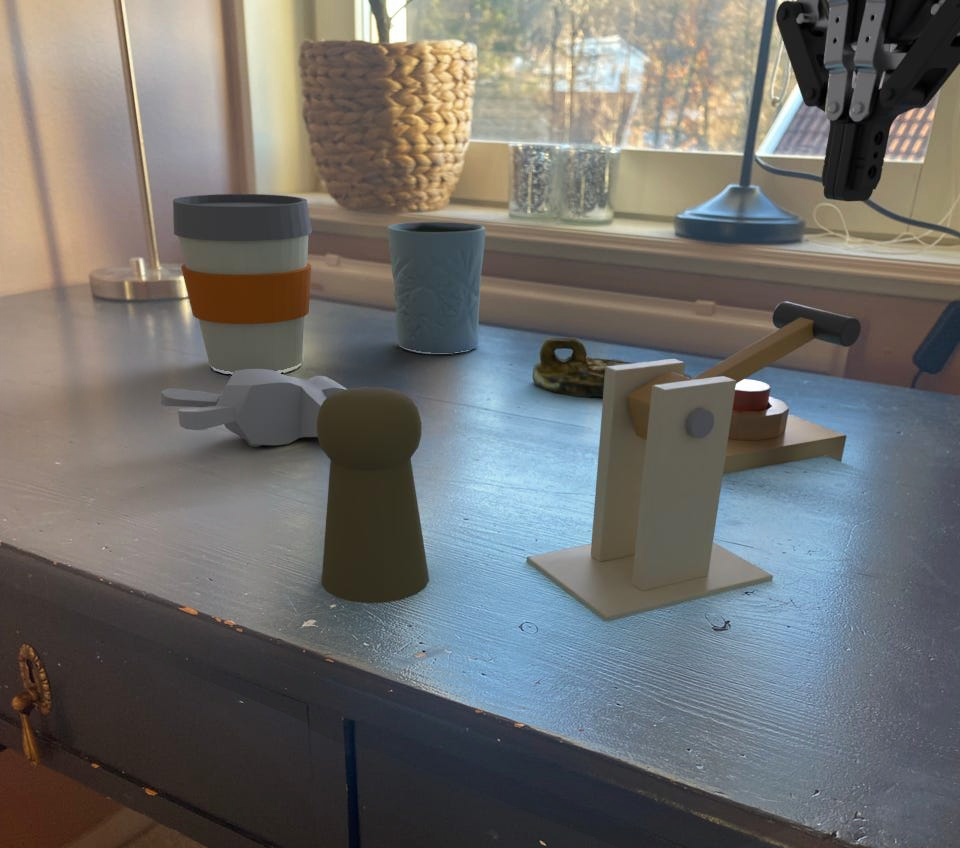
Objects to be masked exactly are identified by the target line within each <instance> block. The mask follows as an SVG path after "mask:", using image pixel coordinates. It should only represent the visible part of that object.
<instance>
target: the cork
mask: <svg viewBox="0 0 960 848" xmlns="http://www.w3.org/2000/svg"><path fill="white" fill-rule="evenodd" d="M346 389H347V390H342V391H339V392H336V393H334V394H332V395H331V396H329V397H328V398H327V399H325V400H324V402H323V403H322V405H321V407H320V409H319V412H318V418H317V435H318V437H317V439H318V442H319V445H320V448H321V450H322V451H323V453H324V455H326V456H327V458H328V459H329V472H328V473H329V474H328V485H327V486H328V489H327V502H326V503H327V504H326V515H325V528H324V529H325V531H324V532H325V533H324V541H323V543H324V544H323V555H322V572H321V585H322V587H323V588H324V590H325V591H326V592H327V593H328V594H330V595H332V596H334V597H335V598H338V599H341V600H345V601H348V602H351V603H363V604H382V603H383V604H384V603H390V602H394V601H395V602H396V601H401V600H405V599H407V598H410V597H412V596H416V595H417V594H419V593H420V592H422V591H423V590H424V589H425V588H427V585H428V583H429V581H430V578H429V577H430V575H429V568H428V563H427V557H426V550H425V543H424V537H423V531H422V530H423V529H422V523H421V518H420V517H421V516H420V509H419V505H418V498H417V497H418V496H417V490H416V484H415V478H414V471H413V465H412V457H413V456H414V454H415V453H416V451H417V450H418V448H419V447H420V442H421V439H422V420H421V416H420V412H419V408H418V406H417V405H416V403H415V402H414V400H413V398H411V397H409V395H407V394H405V393H404V392H401V391H399V390H396V389H391V388H387V387H386V388H385V387H376V386H363V387H353V388H346Z"/></svg>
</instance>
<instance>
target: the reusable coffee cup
mask: <svg viewBox="0 0 960 848" xmlns="http://www.w3.org/2000/svg"><path fill="white" fill-rule="evenodd" d="M172 213H173V217H172V218H173V234H174V235H175V236H177V237H178V241H179V245H180V249H181V254H182V257H183V261H184V264H182V265H181V266H180V268H181V272H182V276H183V280H184V284H185V288H186V289H185V290H186V292H187V297H188V301H189V304H190V309H191V312H192V316H193V317H194V318H196V319H198V323H199V328H200V332H201V336H202V339H203V344H204V347H205V352H206V357H207V359H208V360H207V361H208V364H210V365H211V366H212V367H214V368H216V369H219V370H224V371H230V372H234V371H238V370H244V369H266V370H273V371H278V370H284V369H287V368H291V367H294V366H297V365H298V364H300V363H301V362H302V363H303V349H304V330H305V329H304V328H305V316H307V315H308V314H309V312H310V299H311V298H310V297H311V280H312V279H311V278H312V264H311V263H310V262H308V256H309V255H308V254H309V253H308V252H309V236H310V235H312V232H313V229H312V223H311V216H310V211H309V205H308V200H307V199H306V198H304V197H301V196H300V197H299V196H293V195H282V194H265V193H220V194H219V193H218V194H199V195H197V194H196V195H188V196H180V197H177V198H174V199H173V200H172ZM210 365H209V366H210Z"/></svg>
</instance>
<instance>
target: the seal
mask: <svg viewBox="0 0 960 848" xmlns="http://www.w3.org/2000/svg"><path fill="white" fill-rule="evenodd" d="M561 349H567V350H572V352H571V355H570V356H567V358H562V357H559V356H558V355H557V354H556V350H561ZM587 355H588V354H587V350H586V347H585V345H584V343H583V342H582V340H581V339H579V338H578V337H575V336H574V337H573V336H568V337H561V336H560V337H559V336H554V337H546V338H545V339H544V341H543V343H542V344H541V347H540V350H539V360H540V362H538V363H535V364H534V366H533V370H532V380H533V382H534V383H535V384H536V385H537V386H538V387H541V388H542V389H545V390H547V391H551V392H554V393H557V394H562V395H565V396H571V397H579V398H580V397H583V398H597V397H599V398H603V392H604V379H605V368H606V367H607V366H616V365H624V364H633V363H638V362H637V361H635V362H633V361H632V362H629V361H623V360H619V359H607V358H598V357H589V356H587ZM639 363H641V361H640V362H639ZM684 376H685V377H688V378H690V379H692V378H693V377H691V375H689V374H687V373H684Z"/></svg>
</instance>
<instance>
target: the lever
mask: <svg viewBox="0 0 960 848" xmlns="http://www.w3.org/2000/svg"><path fill="white" fill-rule="evenodd" d="M772 324H773V325H774V327H775V328H776V329H777V330H775V331H774V332H772V333H770V334H768V335H766V336H765V337H763V338H761V339H759V340H758V341H756V342H754V343H752V344H751V345H749V346H747V347H745V348H743V349H742V350H739V351H738V352H737V353H735V354H733V355H731V356H729V357H727V358H726V359H724V360H722V361H720V362H719V363H717V364H715V365H713V366H711V367H709V368H708V369H706V370H704V371H703V372H701V373H699V374H697V375H695V376H694V377H691V378H692V379H690V378H688V377H685V376H682V375H680V374H677V373H674V372H672V371H669V372H667V373H665V374H664V375H662V376H660V377H658V378H657V379H655V380H653V381H651V382H649V383H648V384H646V385H644V386H642V387H640V388H639V389H637V390H635V391H633V392H632V393H630V394H628V395H627V397H628V402H629V406H630V411H631V415H632V419H633V424H634V428H635V433H636V435H637V436H639V437H641V438H643V439H645V440H647V431H648V421H649V412H650V402H651V393H652V386H653V385H659V384H666V383H674V382H682V381H689V380H697V379H705V378H712V377H720V376H725V377H728V378H731V379H733V380H736V383H738V382H740V381H742V380H743V379H747V378H749V377H750V376H752V375H754V374H756V373H757V372H759V371H761V370H763V369H764V368H767V367H768V366H770V365H772V364H773V363H775V362H777V361H778V360H780V359H782V358H784V357H785V356H787V355H789V354H790V353H792V352H794V351H796V350H797V349H799V348H801V347H803V346H805V345H806V344H807V343H809V342H812V341H813V340H815V339H816V340H819V341H821V342H825V343H829V344H833V345H837V346H841V347H844V348H848V347H851V346H853V345H854V344H855V343H856V342H857V341H858V339H859V338H860V335H861V330H862V327H861V325H862V324H861V322H860V321H859V319H857V318H855V317H852V316H847V315H843V314H839V313H835V312H832V311H827V310H823V309H820V308H815V307H811V306H806V305H802V304H799V303H795V302H790V301H785V300H784V301H782V302H780V303H778V305H776V307H775V308H774V311H773V313H772Z"/></svg>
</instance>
